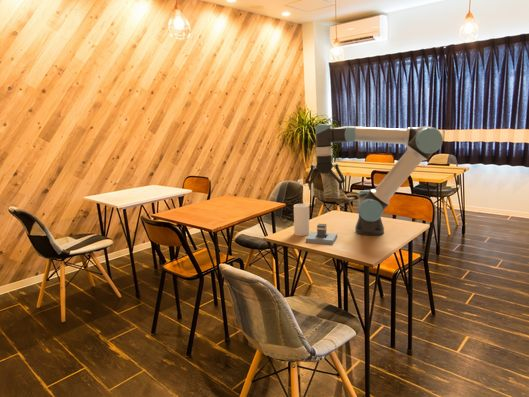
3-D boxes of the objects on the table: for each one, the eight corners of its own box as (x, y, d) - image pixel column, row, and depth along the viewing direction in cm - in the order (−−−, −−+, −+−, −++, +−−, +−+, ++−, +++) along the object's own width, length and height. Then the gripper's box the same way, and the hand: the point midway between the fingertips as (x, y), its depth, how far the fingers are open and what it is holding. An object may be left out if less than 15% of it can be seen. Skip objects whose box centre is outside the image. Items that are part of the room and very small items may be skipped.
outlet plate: (337, 237, 207) (337, 233, 206) (332, 244, 196) (332, 240, 195) (311, 235, 212) (311, 231, 211) (305, 242, 201) (305, 238, 200)
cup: (308, 235, 211) (308, 207, 208) (293, 235, 213) (292, 207, 209) (310, 231, 219) (309, 203, 216) (295, 231, 221) (294, 203, 217)
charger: (326, 238, 205) (326, 224, 204) (324, 241, 201) (324, 226, 200) (318, 238, 207) (318, 223, 205) (317, 240, 203) (317, 225, 201)
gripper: (349, 153, 198) (350, 194, 202) (301, 155, 206) (303, 194, 210) (348, 154, 191) (349, 197, 195) (298, 156, 199) (300, 197, 203)
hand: (325, 196), depth 203 cm, fingers open, 13 cm apart
